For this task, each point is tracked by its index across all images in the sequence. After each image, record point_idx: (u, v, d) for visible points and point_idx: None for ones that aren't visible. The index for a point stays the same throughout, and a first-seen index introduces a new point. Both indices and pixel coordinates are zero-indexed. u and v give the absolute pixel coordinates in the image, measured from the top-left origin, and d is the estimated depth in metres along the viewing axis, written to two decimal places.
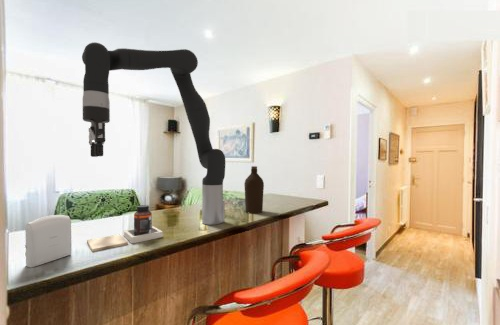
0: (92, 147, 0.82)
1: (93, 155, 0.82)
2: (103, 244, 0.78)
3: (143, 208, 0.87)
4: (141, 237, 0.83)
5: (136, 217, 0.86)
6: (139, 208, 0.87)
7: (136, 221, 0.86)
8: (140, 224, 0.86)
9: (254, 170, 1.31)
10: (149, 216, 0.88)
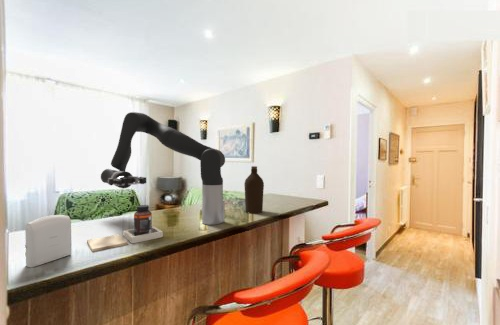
0: (140, 182, 1.03)
1: (142, 182, 1.01)
2: (103, 244, 0.78)
3: (143, 208, 0.87)
4: (141, 237, 0.83)
5: (136, 217, 0.86)
6: (139, 208, 0.87)
7: (136, 221, 0.86)
8: (140, 224, 0.86)
9: (254, 170, 1.31)
10: (149, 216, 0.88)
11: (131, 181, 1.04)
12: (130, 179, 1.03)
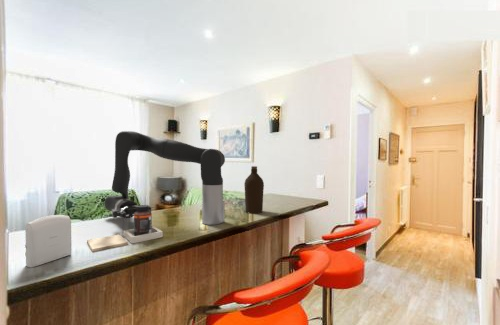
0: None
1: None
2: (103, 244, 0.78)
3: (143, 208, 0.87)
4: (141, 237, 0.83)
5: (136, 217, 0.86)
6: (139, 208, 0.87)
7: (136, 221, 0.86)
8: (140, 224, 0.86)
9: (254, 170, 1.31)
10: (149, 216, 0.88)
11: (135, 211, 1.00)
12: (134, 209, 0.99)
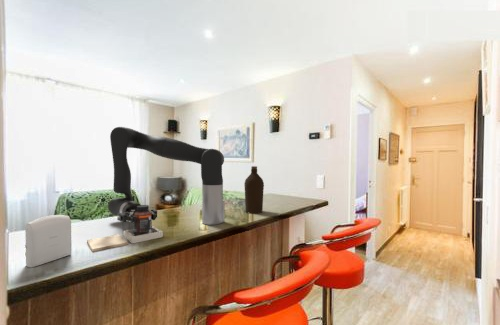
0: None
1: (153, 218, 0.89)
2: (103, 244, 0.78)
3: (143, 208, 0.87)
4: (141, 237, 0.83)
5: (136, 217, 0.86)
6: (139, 208, 0.87)
7: (136, 221, 0.86)
8: (140, 224, 0.86)
9: (254, 170, 1.31)
10: (149, 216, 0.88)
11: None
12: None
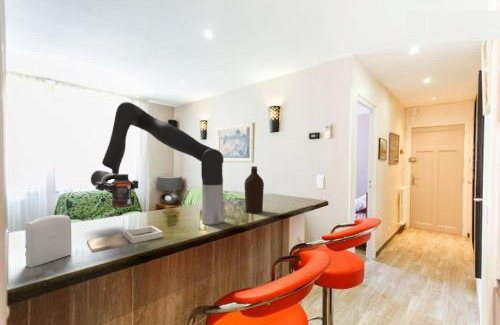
0: None
1: (132, 187, 0.85)
2: (103, 244, 0.78)
3: (121, 176, 0.83)
4: (141, 237, 0.83)
5: (114, 185, 0.82)
6: (117, 176, 0.82)
7: (114, 189, 0.82)
8: (118, 193, 0.81)
9: (254, 170, 1.31)
10: (128, 185, 0.83)
11: None
12: None
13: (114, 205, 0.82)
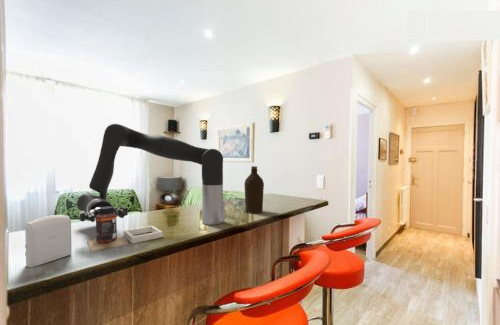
0: (119, 215, 0.84)
1: (121, 216, 0.82)
2: (103, 244, 0.78)
3: (106, 210, 0.79)
4: (141, 237, 0.83)
5: (98, 220, 0.78)
6: (101, 210, 0.79)
7: (98, 224, 0.78)
8: (102, 228, 0.78)
9: (254, 170, 1.31)
10: (113, 218, 0.80)
11: None
12: None
13: (98, 240, 0.78)
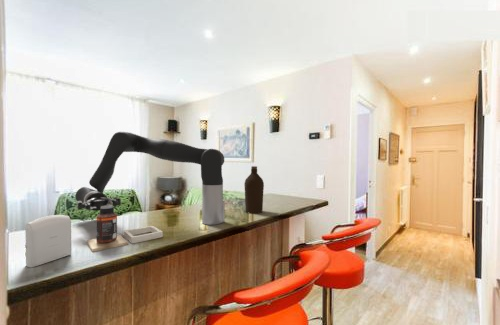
0: (112, 204, 0.95)
1: (114, 205, 0.93)
2: (103, 244, 0.78)
3: (106, 210, 0.79)
4: (141, 237, 0.83)
5: (98, 220, 0.78)
6: (102, 210, 0.79)
7: (98, 224, 0.78)
8: (102, 227, 0.78)
9: (254, 170, 1.31)
10: (113, 218, 0.80)
11: (103, 203, 0.95)
12: (102, 201, 0.95)
13: (98, 240, 0.78)
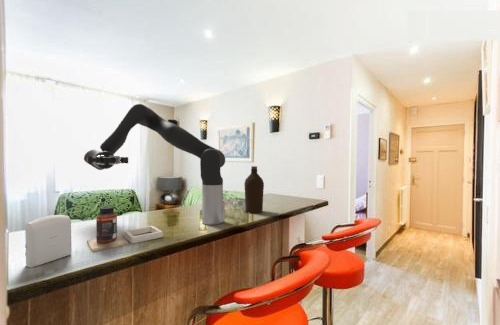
0: None
1: (122, 161, 0.96)
2: (103, 244, 0.78)
3: (106, 210, 0.79)
4: (141, 237, 0.83)
5: (98, 220, 0.78)
6: (102, 210, 0.79)
7: (98, 224, 0.78)
8: (102, 228, 0.78)
9: (254, 170, 1.31)
10: (113, 218, 0.80)
11: (112, 160, 0.99)
12: (111, 158, 0.99)
13: (98, 240, 0.78)
